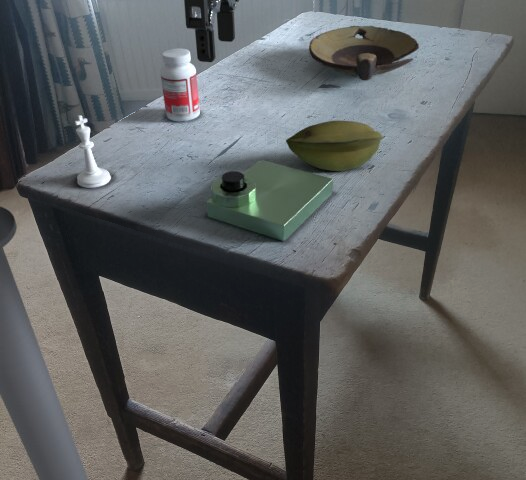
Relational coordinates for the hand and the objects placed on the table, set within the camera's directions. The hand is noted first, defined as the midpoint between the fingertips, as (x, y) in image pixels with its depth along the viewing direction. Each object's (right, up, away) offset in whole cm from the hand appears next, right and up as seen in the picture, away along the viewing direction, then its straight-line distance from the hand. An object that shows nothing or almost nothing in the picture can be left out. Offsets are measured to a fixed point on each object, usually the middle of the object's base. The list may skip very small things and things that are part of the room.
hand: (217, 50), depth 77 cm
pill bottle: (-8, 0, +29) cm, 30 cm away
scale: (+7, -20, +5) cm, 21 cm away
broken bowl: (+26, +15, +45) cm, 54 cm away
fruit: (+17, -12, +14) cm, 25 cm away
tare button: (+2, -18, +1) cm, 18 cm away
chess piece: (-19, -15, +11) cm, 27 cm away
